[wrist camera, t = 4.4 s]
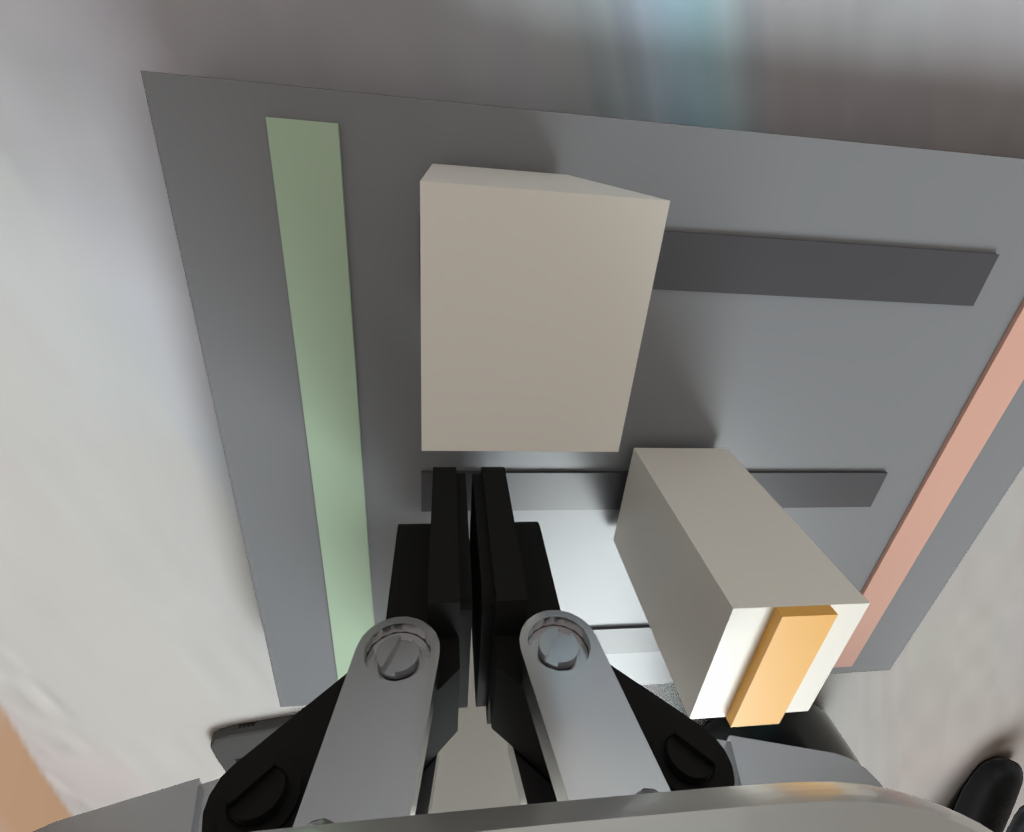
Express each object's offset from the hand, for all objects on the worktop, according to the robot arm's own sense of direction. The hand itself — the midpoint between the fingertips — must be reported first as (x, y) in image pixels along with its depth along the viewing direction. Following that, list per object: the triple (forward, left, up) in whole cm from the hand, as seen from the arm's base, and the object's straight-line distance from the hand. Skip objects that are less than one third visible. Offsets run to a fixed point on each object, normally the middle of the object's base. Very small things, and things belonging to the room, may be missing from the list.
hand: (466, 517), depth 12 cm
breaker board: (0, -5, -3) cm, 6 cm away
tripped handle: (0, -5, -1) cm, 5 cm away
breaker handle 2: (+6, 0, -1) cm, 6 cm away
